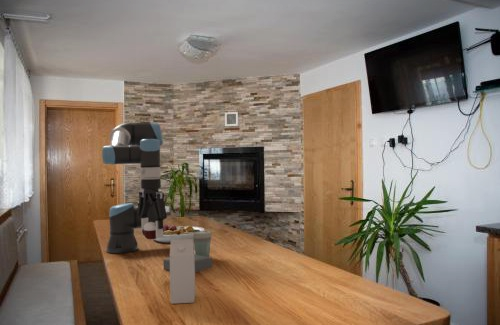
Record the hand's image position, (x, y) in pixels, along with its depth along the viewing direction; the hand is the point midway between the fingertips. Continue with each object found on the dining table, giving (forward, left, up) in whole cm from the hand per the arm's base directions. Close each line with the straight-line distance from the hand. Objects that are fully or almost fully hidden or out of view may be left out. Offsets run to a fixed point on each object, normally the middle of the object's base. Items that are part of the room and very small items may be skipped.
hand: (152, 235), depth 151 cm
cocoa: (0, 0, -1) cm, 1 cm away
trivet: (+4, +14, -15) cm, 21 cm away
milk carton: (+32, -10, -15) cm, 37 cm away
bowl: (-51, +51, -16) cm, 74 cm away
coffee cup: (-3, +28, -15) cm, 32 cm away
